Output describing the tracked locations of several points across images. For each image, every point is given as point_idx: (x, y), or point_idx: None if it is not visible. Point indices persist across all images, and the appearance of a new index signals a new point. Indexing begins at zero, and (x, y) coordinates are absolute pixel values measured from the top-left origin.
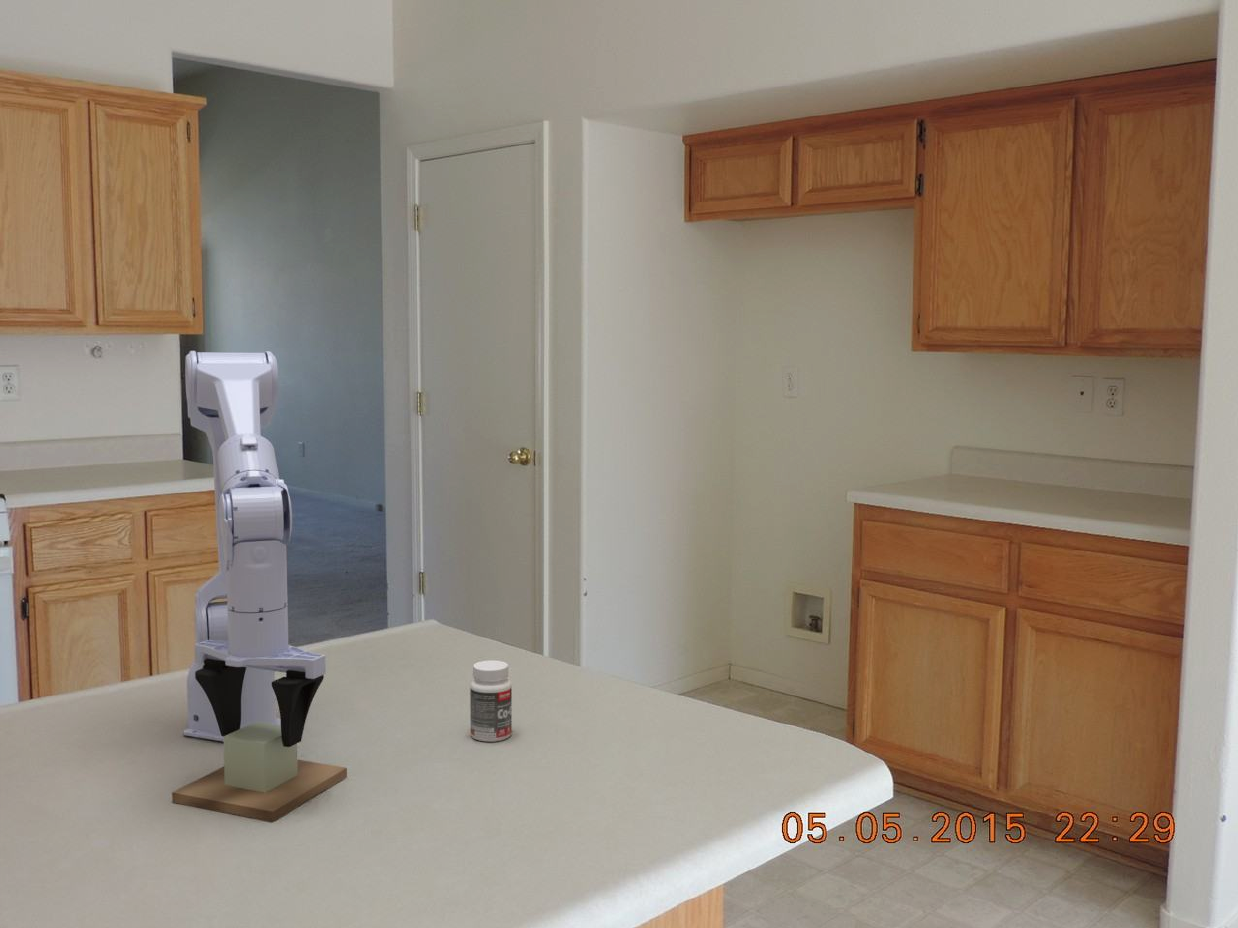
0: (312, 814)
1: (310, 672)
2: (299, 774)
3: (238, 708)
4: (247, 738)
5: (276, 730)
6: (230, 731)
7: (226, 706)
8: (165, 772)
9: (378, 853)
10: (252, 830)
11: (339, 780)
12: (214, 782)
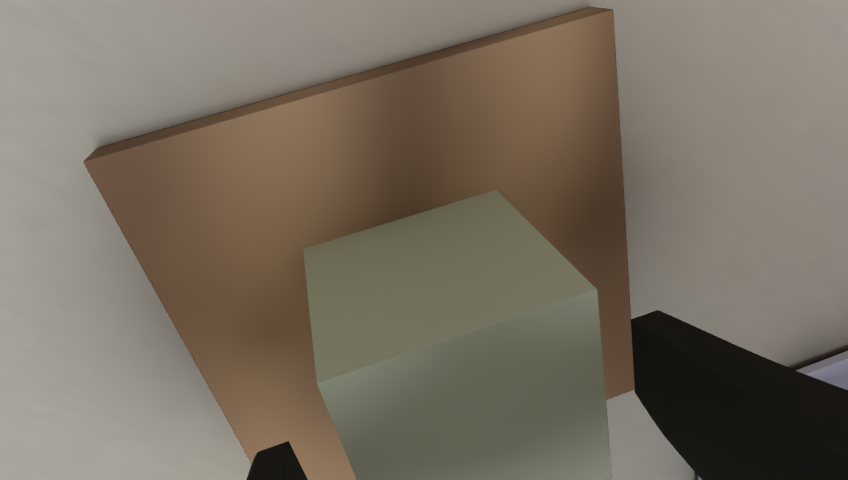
0: (57, 286)
1: None
2: None
3: (712, 477)
4: (463, 358)
5: None
6: (641, 354)
7: (751, 441)
8: (792, 152)
9: None
10: (70, 38)
11: None
12: (546, 177)
